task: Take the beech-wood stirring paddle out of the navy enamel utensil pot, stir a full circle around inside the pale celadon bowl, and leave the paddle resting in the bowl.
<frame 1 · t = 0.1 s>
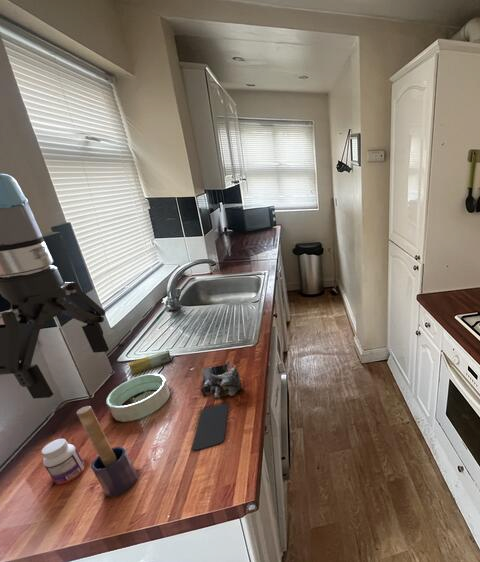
hand: (75, 371, 60), 31 cm above the worktop, tool pointing down, fingers open, 13 cm apart
medication box: (153, 367, 110), on the worktop
phone: (212, 427, 85), on the worktop
stirring paddle: (121, 483, 70), point 1 cm above the worktop, touching utensil pot
grey sculpted pot: (223, 388, 99), on the worktop
bowl: (143, 404, 93), on the worktop
utensil pot: (122, 485, 70), on the worktop
pill bottle: (71, 475, 73), on the worktop
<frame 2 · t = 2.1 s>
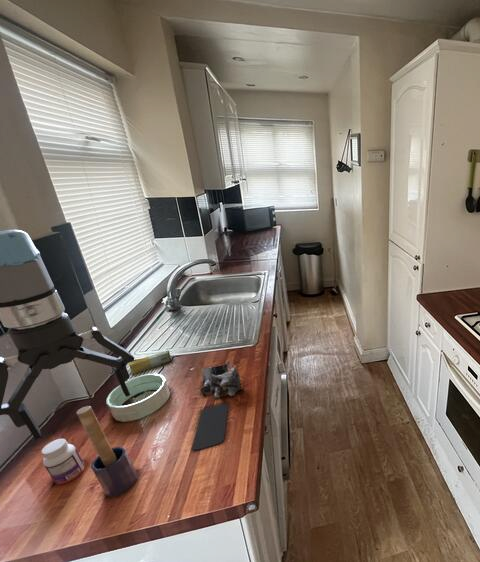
hand: (85, 412, 62), 22 cm above the worktop, tool pointing down, fingers open, 13 cm apart
nothing on the worktop moved.
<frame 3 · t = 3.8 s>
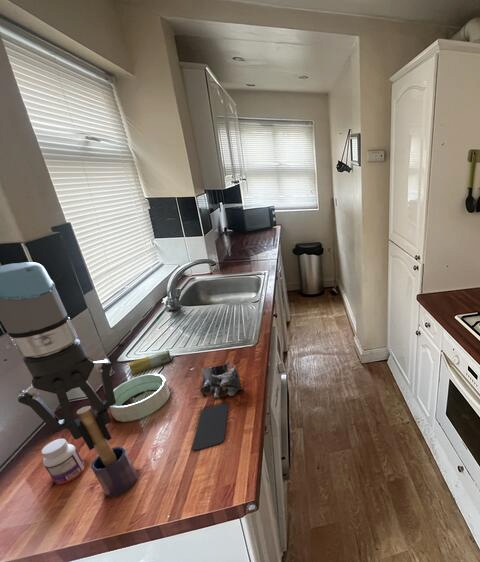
hand: (99, 440, 65), 14 cm above the worktop, tool pointing down, fingers closed on stirring paddle, 2 cm apart
stirring paddle: (121, 483, 70), point 1 cm above the worktop, touching gripper, utensil pot
everything else where it was.
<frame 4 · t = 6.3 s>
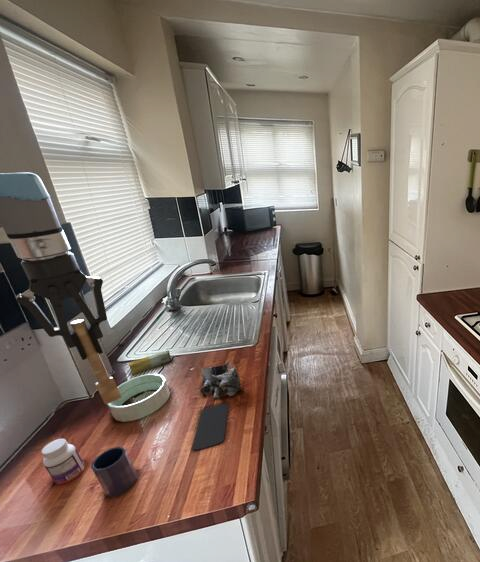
hand: (91, 354, 70), 28 cm above the worktop, tool pointing down, fingers closed on stirring paddle, 2 cm apart
stirring paddle: (113, 400, 75), point 15 cm above the worktop, touching gripper
everything else where it was.
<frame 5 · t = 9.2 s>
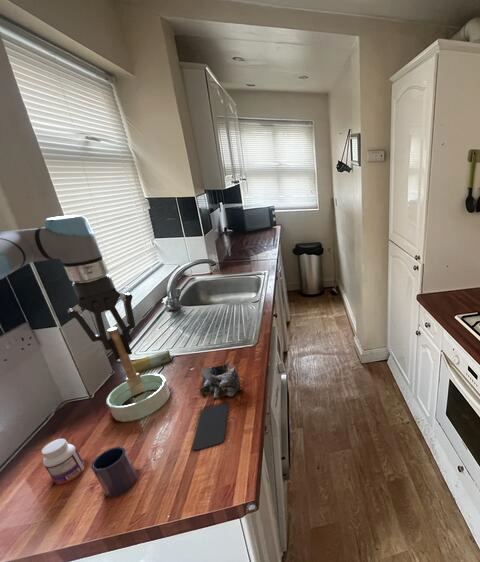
hand: (123, 354, 86), 18 cm above the worktop, tool pointing down, fingers closed on stirring paddle, 2 cm apart
stirring paddle: (139, 392, 92), point 5 cm above the worktop, touching gripper
everything else where it was.
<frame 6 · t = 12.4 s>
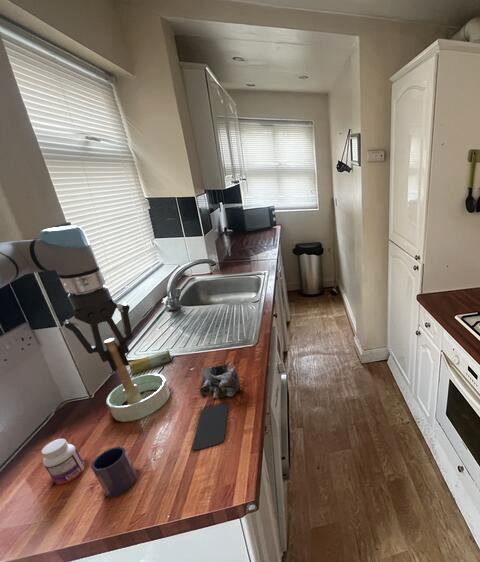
hand: (120, 366, 85), 16 cm above the worktop, tool pointing down, fingers closed on stirring paddle, 2 cm apart
stirring paddle: (136, 403, 90), point 3 cm above the worktop, touching gripper
everything else where it was.
when the fingers open (14 cm above the worktop, at t = 14.6 s): stirring paddle stays where it is, resting on bowl.
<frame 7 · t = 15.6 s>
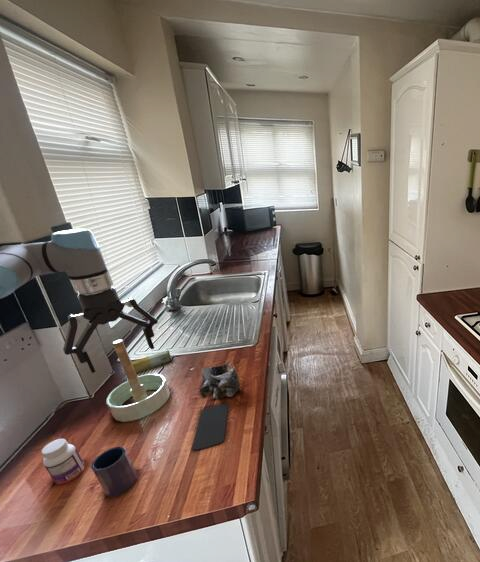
hand: (123, 358, 87), 17 cm above the worktop, tool pointing down, fingers open, 13 cm apart
stirring paddle: (142, 402, 93), point 1 cm above the worktop, touching bowl
everything else where it was.
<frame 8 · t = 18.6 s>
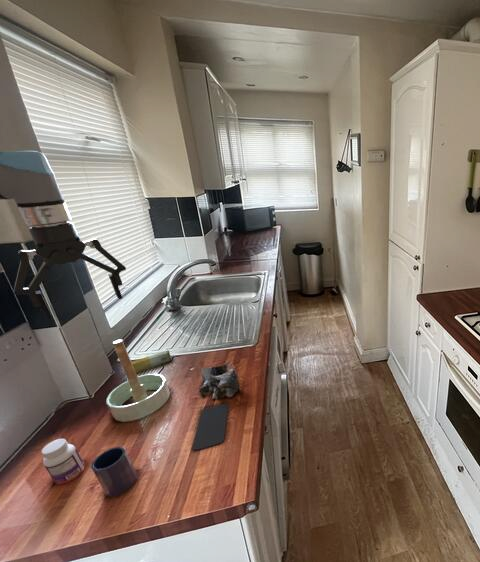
hand: (87, 306, 78), 35 cm above the worktop, tool pointing down, fingers open, 13 cm apart
nothing on the worktop moved.
at the end: stirring paddle inside the target area in the bowl (0.1 cm from its centre), point 0.8 cm above the bowl's base; the gripper is holding nothing; stirring paddle moved 28.2 cm from its start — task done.
